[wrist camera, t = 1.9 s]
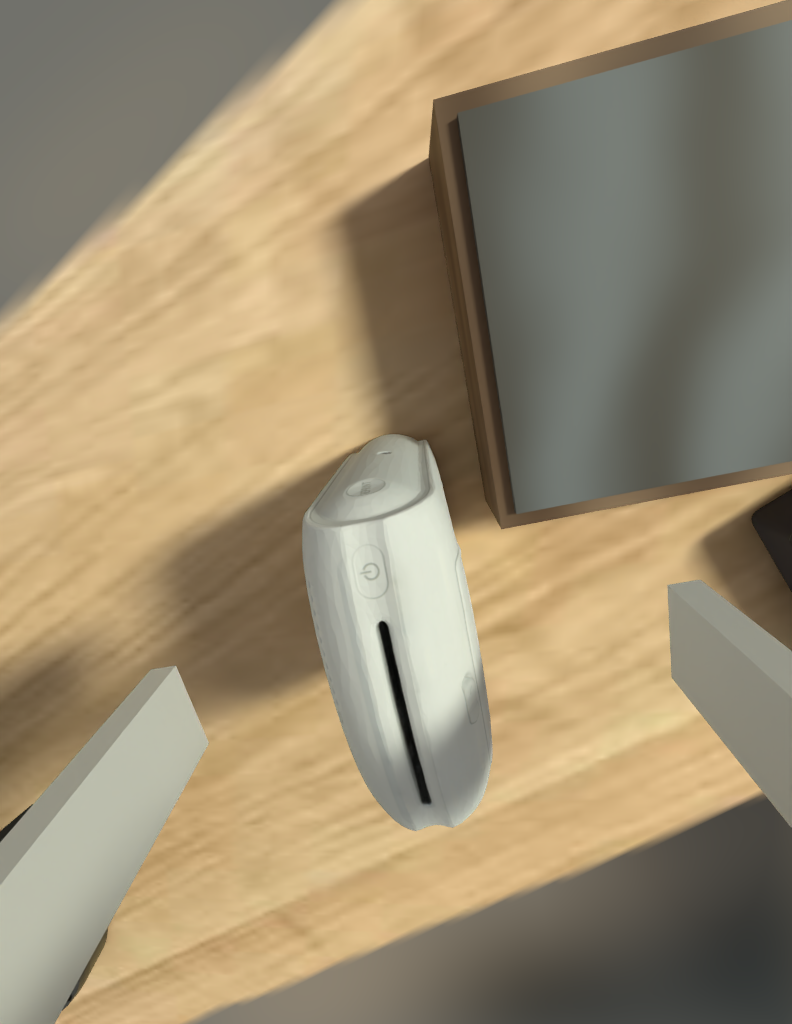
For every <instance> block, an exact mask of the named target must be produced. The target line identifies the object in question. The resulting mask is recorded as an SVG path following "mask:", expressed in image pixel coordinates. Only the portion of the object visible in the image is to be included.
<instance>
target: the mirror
mask: <svg viewBox="0 0 792 1024" xmlns="http://www.w3.org/2000/svg"><path fill="white" fill-rule="evenodd" d="M429 162H430V168H431V174H432V180H433V186H434V192H435V198H436V204H437V210H438V216H439V222H440V228H441V234H442V240H443V246H444V252H445V258H446V264H447V270H448V276H449V282H450V288H451V294H452V300H453V306H454V312H455V318H456V324H457V330H458V336H459V342H460V348H461V354H462V360H463V366H464V372H465V378H466V384H467V390H468V396H469V402H470V408H471V414H472V420H473V426H474V432H475V438H476V444H477V450H478V456H479V463H480V469H481V475H482V481H483V487H484V493H485V499H486V502H487V503H488V505H489V507H490V509H491V511H492V513H493V514H494V516H495V518H496V520H497V522H498V524H499V525H500V527H501V529H505V528H510V527H515V526H521V525H526V524H531V523H536V522H542V521H547V520H552V519H557V518H563V517H568V516H573V515H578V514H584V513H589V512H594V511H599V510H605V509H610V508H615V507H620V506H626V505H631V504H636V503H641V502H647V501H652V500H657V499H663V498H668V497H673V496H678V495H684V494H689V493H694V492H699V491H705V490H710V489H715V488H720V487H726V486H731V485H736V484H741V483H747V482H752V481H757V480H762V479H768V478H773V477H778V476H783V475H789V474H792V0H785V1H782V2H778V3H775V4H771V5H768V6H764V7H761V8H757V9H753V10H750V11H746V12H743V13H739V14H736V15H732V16H729V17H725V18H722V19H718V20H715V21H711V22H707V23H704V24H700V25H697V26H693V27H690V28H686V29H683V30H679V31H676V32H672V33H669V34H665V35H661V36H658V37H654V38H651V39H647V40H644V41H640V42H637V43H633V44H630V45H626V46H622V47H619V48H615V49H612V50H608V51H605V52H601V53H598V54H594V55H591V56H587V57H584V58H580V59H576V60H573V61H569V62H566V63H562V64H559V65H555V66H552V67H548V68H545V69H541V70H537V71H534V72H530V73H527V74H523V75H520V76H516V77H513V78H509V79H506V80H502V81H499V82H495V83H491V84H488V85H484V86H481V87H477V88H474V89H470V90H467V91H463V92H460V93H456V94H453V95H449V96H445V97H442V98H438V99H435V100H433V112H432V124H431V136H430V148H429Z"/></svg>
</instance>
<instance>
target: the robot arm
mask: <svg viewBox="0 0 792 1024" xmlns="http://www.w3.org/2000/svg"><path fill="white" fill-rule="evenodd" d="M668 606H669V628H670V651H671V673H672V679H673V680H674V681H675V682H676V684H677V685H678V686H679V687H680V689H681V690H682V691H683V692H684V694H685V695H686V696H687V697H688V699H689V700H690V701H691V702H692V704H693V705H694V706H695V707H696V709H697V710H698V711H699V712H700V714H701V715H702V716H703V717H704V719H705V720H706V721H707V722H708V724H709V725H710V726H711V727H712V729H713V730H714V731H715V732H716V734H717V735H718V736H719V737H720V739H721V740H722V741H723V742H724V744H725V745H726V746H727V747H728V749H729V750H730V751H731V753H732V754H733V755H734V756H735V758H736V759H737V760H738V761H739V763H740V764H741V765H742V766H743V768H744V769H745V770H746V771H747V773H748V774H749V775H750V776H751V778H752V779H753V780H754V781H755V783H756V784H757V785H758V786H759V788H760V789H761V790H762V791H763V793H764V794H765V795H766V796H767V798H768V799H769V800H770V801H771V803H772V804H773V805H774V806H775V808H776V809H777V810H778V811H779V813H780V814H781V815H782V816H783V817H784V819H785V820H786V821H787V823H788V824H789V825H790V826H791V828H792V651H791V650H790V649H789V648H787V647H786V646H785V645H783V644H782V643H781V642H780V641H778V640H777V639H776V638H774V637H773V636H772V635H771V634H769V633H768V632H767V631H765V630H764V629H763V628H762V627H760V626H759V625H758V624H756V623H755V622H754V621H753V620H751V619H750V618H749V617H747V616H746V615H745V614H744V613H742V612H741V611H740V610H738V609H737V608H736V607H735V606H733V605H732V604H731V603H729V602H728V601H727V600H726V599H724V598H723V597H722V596H720V595H719V594H718V593H717V592H715V591H714V590H713V589H711V588H710V587H709V586H708V585H706V584H705V583H704V582H702V581H701V580H695V581H689V582H683V583H677V584H671V585H668ZM208 744H209V742H208V740H207V738H206V735H205V733H204V731H203V728H202V726H201V724H200V721H199V719H198V716H197V714H196V712H195V709H194V707H193V705H192V702H191V700H190V698H189V695H188V693H187V691H186V688H185V686H184V683H183V681H182V679H181V676H180V674H179V672H178V669H177V667H176V666H170V667H164V668H158V669H151V670H150V671H149V672H148V673H147V674H146V676H145V677H144V678H143V679H142V680H141V681H140V682H139V684H138V685H137V686H136V687H135V688H134V689H133V690H132V692H131V693H130V694H129V695H128V696H127V697H126V698H125V700H124V701H123V702H122V703H121V704H120V705H119V707H118V708H117V709H116V710H115V711H114V712H113V713H112V715H111V716H110V717H109V718H108V719H107V720H106V721H105V723H104V724H103V725H102V726H101V727H100V728H99V730H98V731H97V732H96V733H95V734H94V735H93V736H92V738H91V739H90V740H89V741H88V742H87V743H86V744H85V746H84V747H83V748H82V749H81V750H80V751H79V752H78V754H77V755H76V756H75V757H74V758H73V759H72V761H71V762H70V763H69V764H68V765H67V766H66V767H65V769H64V770H63V771H62V772H61V773H60V774H59V775H58V777H57V778H56V779H55V780H54V781H53V782H52V783H51V785H50V786H49V787H48V788H47V789H46V790H45V792H44V793H43V794H42V795H41V796H40V797H39V798H38V800H37V801H36V802H35V803H34V804H32V805H31V806H30V807H29V808H27V809H26V810H25V811H24V812H23V813H21V814H20V815H19V816H18V817H17V818H15V819H14V820H13V821H12V822H11V823H9V824H8V825H7V826H6V827H5V828H4V829H3V830H2V831H1V832H0V1024H55V1022H56V1020H57V1018H58V1016H59V1014H60V1013H61V1011H62V1010H63V1009H64V1008H65V1007H67V1006H68V1005H69V1003H70V1002H71V1001H72V1000H73V999H74V997H75V996H76V995H77V994H78V992H79V991H80V989H81V988H82V986H83V985H84V983H85V981H86V979H87V978H88V976H89V974H90V972H91V970H92V968H93V966H94V964H95V962H96V961H97V959H98V957H99V955H100V953H101V951H102V949H103V947H104V945H105V942H106V938H107V932H108V926H109V924H110V922H111V920H112V918H113V916H114V915H115V913H116V911H117V909H118V907H119V906H120V904H121V902H122V900H123V898H124V896H125V895H126V893H127V891H128V889H129V887H130V886H131V884H132V882H133V880H134V878H135V876H136V875H137V873H138V871H139V869H140V867H141V866H142V864H143V862H144V860H145V858H146V857H147V855H148V853H149V851H150V849H151V847H152V846H153V844H154V842H155V840H156V838H157V837H158V835H159V833H160V831H161V829H162V827H163V826H164V824H165V822H166V820H167V818H168V817H169V815H170V813H171V811H172V809H173V807H174V806H175V804H176V802H177V800H178V798H179V797H180V795H181V793H182V791H183V789H184V788H185V786H186V784H187V782H188V780H189V778H190V777H191V775H192V773H193V771H194V769H195V768H196V766H197V764H198V762H199V760H200V758H201V757H202V755H203V753H204V751H205V749H206V748H207V746H208Z"/></svg>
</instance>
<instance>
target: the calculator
mask: <svg viewBox="0 0 792 1024" xmlns="http://www.w3.org/2000/svg"><path fill="white" fill-rule="evenodd" d="M752 524H753V526H754V527H755V529H756V531H757V533H758V534H759V536H760V538H761V540H762V541H763V543H764V545H765V547H766V548H767V550H768V552H769V554H770V555H771V557H772V559H773V560H774V562H775V564H776V566H777V567H778V569H779V571H780V573H781V574H782V576H783V578H784V580H785V581H786V583H787V585H788V586H789V588H790V590H791V592H792V490H790V491H789V492H787V493H785V494H784V495H782V496H780V497H779V498H777V499H775V500H774V501H772V502H770V503H769V504H767V505H765V506H764V507H762V508H760V509H759V510H757V511H756V512H755V513H754V514H753V516H752Z"/></svg>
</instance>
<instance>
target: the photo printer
mask: <svg viewBox="0 0 792 1024" xmlns="http://www.w3.org/2000/svg"><path fill="white" fill-rule="evenodd" d="M302 552H303V564H304V572H305V578H306V585H307V591H308V597H309V602H310V607H311V612H312V617H313V622H314V627H315V632H316V636H317V640H318V644H319V648H320V652H321V656H322V660H323V664H324V668H325V672H326V675H327V679H328V682H329V686H330V689H331V693H332V696H333V700H334V703H335V706H336V710H337V713H338V716H339V719H340V722H341V725H342V728H343V731H344V734H345V736H346V739H347V742H348V744H349V747H350V750H351V752H352V755H353V757H354V760H355V762H356V764H357V767H358V769H359V771H360V773H361V775H362V777H363V779H364V781H365V783H366V785H367V787H368V788H369V790H370V791H371V793H372V795H373V796H374V797H375V799H376V800H377V801H378V803H379V804H380V805H381V806H382V808H383V809H384V810H385V811H386V812H387V813H388V814H389V815H390V816H391V817H392V818H393V819H394V820H395V821H396V822H398V823H399V824H401V825H402V826H404V827H406V828H408V829H410V830H414V831H417V830H420V829H423V828H425V827H428V826H431V825H443V826H447V827H452V828H453V827H455V826H457V825H459V824H460V823H462V822H463V821H464V820H465V819H467V818H468V817H469V816H470V815H471V814H472V813H473V812H474V810H475V809H476V808H477V806H478V805H479V803H480V802H481V800H482V798H483V796H484V793H485V790H486V787H487V782H488V778H489V772H490V766H491V763H492V735H491V724H490V713H489V706H488V699H487V692H486V685H485V678H484V671H483V665H482V659H481V654H480V647H479V641H478V637H477V631H476V625H475V620H474V615H473V610H472V604H471V599H470V595H469V590H468V585H467V581H466V576H465V571H464V567H463V563H462V559H461V549H460V547H459V545H458V543H457V541H456V538H455V534H454V530H453V526H452V522H451V518H450V514H449V510H448V506H447V502H446V498H445V494H444V490H443V483H442V481H441V478H440V474H439V470H438V466H437V463H436V460H435V457H434V455H433V452H432V450H431V447H430V445H429V443H428V441H427V440H421V441H416V440H415V439H414V438H411V437H408V436H406V435H401V434H388V435H383V436H380V437H377V438H375V439H373V440H372V441H370V442H369V443H367V444H366V445H365V446H364V447H363V448H362V449H361V451H360V452H358V453H352V454H351V455H349V456H348V457H347V458H346V460H345V461H344V462H343V463H342V465H341V466H340V467H339V468H338V470H337V471H336V473H335V474H334V475H333V476H332V478H331V479H330V480H329V482H328V483H327V484H326V486H325V487H324V488H323V489H322V491H321V492H320V493H319V495H318V496H317V498H316V499H315V501H314V502H313V503H312V505H311V506H310V507H309V508H308V510H307V511H306V512H305V515H304V518H303V526H302Z"/></svg>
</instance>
